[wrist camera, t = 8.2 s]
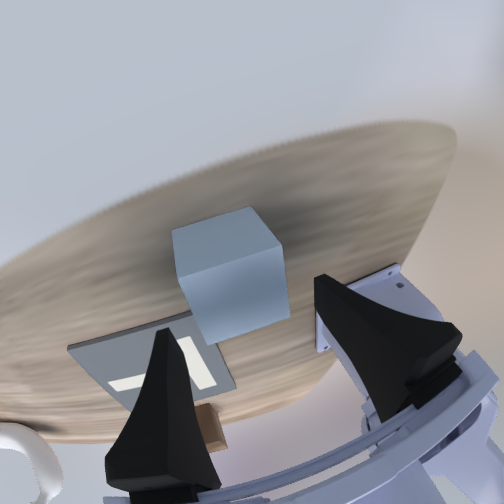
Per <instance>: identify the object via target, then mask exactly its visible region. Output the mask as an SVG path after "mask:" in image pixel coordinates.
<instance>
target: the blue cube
mask: <svg viewBox="0 0 504 504" xmlns="http://www.w3.org/2000/svg"><path fill="white" fill-rule="evenodd" d="M171 232H172V241H173V250H174V258H175V266H176V273H177V279H178V282H179V284H180V286H181V289H182V291H183V293H184V296H185V298H186V300H187V302H188V305H189V307H190V309H191V311H192V314H193V316H194V318H195V320H196V322H197V325H198V327H199V329H200V331H201V333H202V335H203V337H204V339H205V341H206V344H207V346H208V345H211V344H214V343H217V342H220V341H223V340H226V339H230V338H233V337H236V336H239V335H241V334H244V333H247V332H250V331H253V330H256V329H259V328H262V327H264V326H267V325H270V324H273V323H275V322H278V321H281V320H283V319H286V318H289V317H290V310H289V301H288V292H287V283H286V274H285V266H284V258H283V250H282V245H281V243H280V242H279V241H278V240H277V238H276V237H275V236H274V235H273V233H272V232H271V231H270V230H269V228H268V227H267V226H266V225H265V223H264V222H263V221H262V220H261V219H260V217H259V216H258V215H257V214H256V212H255V211H254V210H253V209H252V207H251V206H250V207H246V208H243V209H239V210H236V211H233V212H229V213H226V214H223V215H219V216H216V217H213V218H209V219H206V220H203V221H200V222H196V223H193V224H190V225H187V226H184V227H181V228H178V229H174V230H171Z"/></svg>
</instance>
